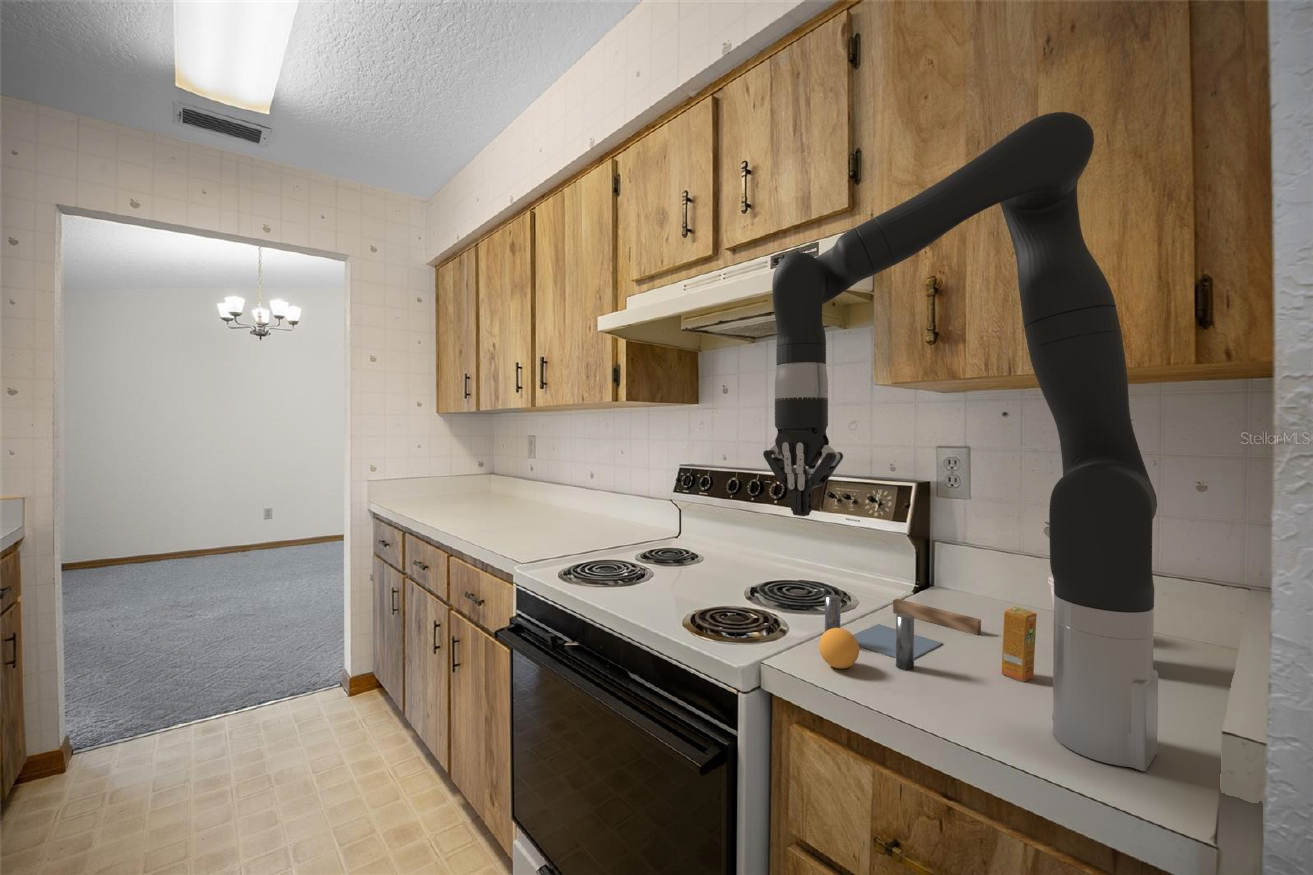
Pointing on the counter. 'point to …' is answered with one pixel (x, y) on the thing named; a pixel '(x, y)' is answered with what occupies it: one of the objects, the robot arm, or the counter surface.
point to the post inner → (905, 641)
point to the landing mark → (891, 641)
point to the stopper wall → (938, 616)
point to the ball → (839, 648)
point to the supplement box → (1018, 643)
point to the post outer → (832, 612)
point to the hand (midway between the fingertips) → (801, 515)
